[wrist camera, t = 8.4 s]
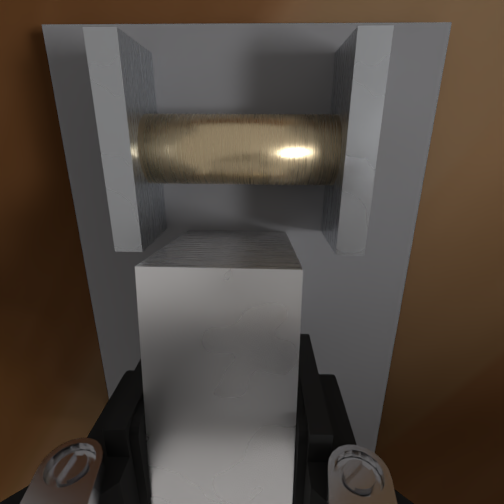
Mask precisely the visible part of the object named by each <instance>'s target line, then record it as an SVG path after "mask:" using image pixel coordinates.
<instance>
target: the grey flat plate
mask: <svg viewBox="0 0 504 504" xmlns="http://www.w3.org/2000/svg"><path fill="white" fill-rule="evenodd" d="M451 23H452V22H445V23H254V24H63V25H42V29H43V35H44V40H45V46H46V51H47V57H48V63H49V68H50V74H51V79H52V85H53V90H54V96H55V101H56V107H57V113H58V118H59V124H60V129H61V135H62V140H63V146H64V151H65V157H66V163H67V168H68V174H69V179H70V185H71V190H72V196H73V201H74V207H75V213H76V218H77V224H78V229H79V235H80V240H81V246H82V251H83V257H84V263H85V268H86V274H87V279H88V285H89V290H90V296H91V302H92V307H93V313H94V318H95V324H96V329H97V335H98V340H99V346H100V352H101V357H102V363H103V368H104V374H105V379H106V385H107V390H108V396H109V399H110V397H111V396H112V394H113V392H114V390H115V389H116V387H117V385H118V383H119V382H120V380H121V378H122V377H123V375H124V374H125V372H126V371H128V370H135V368H136V366H137V364H138V362H139V361H140V359H141V351H140V336H139V322H138V307H137V293H136V278H135V266H136V265H138V264H139V263H141V262H142V261H144V260H145V259H147V258H148V257H150V256H151V255H153V254H154V253H156V252H157V251H159V250H160V249H162V248H163V247H165V246H166V245H168V244H169V243H171V242H172V241H174V240H175V239H177V238H178V237H180V236H181V235H183V234H184V233H186V232H187V231H237V232H286V233H287V236H288V238H289V240H290V242H291V244H292V247H293V249H294V251H295V253H296V255H297V257H298V260H299V262H300V264H301V266H302V268H303V283H302V305H301V326H300V334H309V336H310V340H311V344H312V348H313V352H314V356H315V361H316V365H317V369H318V373H319V374H334V375H335V377H336V379H337V382H338V386H339V389H340V392H341V395H342V399H343V402H344V405H345V408H346V412H347V415H348V418H349V421H350V425H351V428H352V431H353V434H354V438H355V441H356V444H357V445H358V446H362V447H365V448H367V449H369V450H370V451H372V452H374V453H375V447H376V442H377V436H378V431H379V425H380V419H381V414H382V408H383V403H384V397H385V392H386V386H387V380H388V375H389V369H390V364H391V358H392V352H393V347H394V341H395V336H396V330H397V325H398V319H399V313H400V308H401V302H402V297H403V291H404V285H405V280H406V274H407V269H408V263H409V258H410V252H411V246H412V241H413V235H414V230H415V224H416V218H417V213H418V207H419V202H420V196H421V191H422V185H423V179H424V174H425V168H426V163H427V157H428V151H429V146H430V140H431V135H432V129H433V124H434V118H435V112H436V107H437V101H438V96H439V90H440V84H441V79H442V73H443V68H444V62H445V57H446V51H447V45H448V40H449V34H450V29H451ZM371 25H394V30H393V37H392V45H391V53H390V61H389V68H388V76H387V84H386V92H385V99H384V107H383V115H382V123H381V130H380V138H379V146H378V154H377V161H376V169H375V177H374V185H373V192H372V200H371V208H370V216H369V223H368V231H367V239H366V247H365V254H364V256H352V255H335V253H334V252H333V250H332V248H331V247H330V245H329V243H328V242H327V240H326V239H325V237H324V235H323V234H322V232H321V224H322V211H323V198H324V186H325V185H256V184H163V187H164V199H165V211H166V223H167V229H166V230H165V231H164V232H163V233H162V234H161V235H160V236H159V237H158V238H157V239H156V240H155V241H154V242H153V243H151V244H150V245H149V246H148V247H147V248H146V249H145V250H144V251H143V252H115V248H114V241H113V234H112V227H111V220H110V213H109V207H108V200H107V193H106V186H105V179H104V172H103V165H102V158H101V151H100V144H99V137H98V130H97V123H96V116H95V110H94V103H93V96H92V89H91V82H90V75H89V68H88V61H87V54H86V47H85V40H84V33H83V27H118V28H119V29H120V30H122V31H123V32H124V33H126V34H127V35H128V36H130V37H131V38H132V39H134V40H135V41H136V42H138V43H139V44H140V45H142V46H143V47H144V48H146V49H147V50H148V51H150V52H151V53H152V58H153V70H154V82H155V94H156V105H157V114H330V110H331V97H332V85H333V72H334V60H335V52H336V51H337V50H338V49H339V47H340V46H341V45H342V44H343V43H344V42H345V40H346V39H347V38H348V37H349V36H350V34H351V33H352V32H353V31H354V30H355V29H356V27H357V26H371Z"/></svg>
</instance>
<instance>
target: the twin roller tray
mask: <svg viewBox="0 0 504 504" xmlns="http://www.w3.org/2000/svg"><path fill="white" fill-rule="evenodd" d="M393 30H394V25H371V26H357V27H356V29H355V30H354V31H353V32H352V33H351V34H350V36H349V37H348V38H347V39H346V40H345V42H344V43H343V44H342V45H341V46H340V47H339V49H338V50H337V51H336V52H335V60H334V72H333V85H332V97H331V110H330V114H157V105H156V94H155V82H154V70H153V58H152V53H151V52H150V51H148V50H147V49H146V48H144V47H143V46H142V45H140V44H139V43H138V42H136V41H135V40H134V39H132V38H131V37H130V36H128V35H127V34H126V33H124V32H123V31H122V30H120V29H119V28H118V27H83V33H84V40H85V47H86V54H87V61H88V68H89V75H90V82H91V89H92V96H93V103H94V110H95V116H96V123H97V130H98V137H99V144H100V151H101V158H102V165H103V172H104V179H105V186H106V193H107V200H108V207H109V213H110V220H111V227H112V234H113V241H114V248H115V252H143V251H144V250H145V249H146V248H147V247H148V246H149V245H150V244H151V243H153V242H154V241H155V240H156V239H157V238H158V237H159V236H160V235H161V234H162V233H163V232H164V231H165V230H166V229H167V223H166V211H165V199H164V187H163V184H256V185H325V186H324V198H323V211H322V224H321V232H322V234H323V235H324V237H325V239H326V240H327V242H328V243H329V245H330V247H331V248H332V250H333V252H334V253H335V255H352V256H364V254H365V247H366V239H367V231H368V223H369V216H370V208H371V200H372V192H373V185H374V177H375V169H376V161H377V154H378V146H379V138H380V130H381V123H382V115H383V107H384V99H385V92H386V84H387V76H388V68H389V61H390V53H391V45H392V37H393Z"/></svg>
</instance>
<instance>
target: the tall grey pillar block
mask: <svg viewBox="0 0 504 504" xmlns="http://www.w3.org/2000/svg"><path fill="white" fill-rule="evenodd" d="M135 278H136V293H137V307H138V322H139V336H140V351H141V365H142V380H143V395H144V409H145V424H146V438H147V453H148V467H149V482H150V497H151V504H292V499H293V478H294V456H295V435H296V413H297V391H298V370H299V348H300V326H301V305H302V283H303V268H302V266H301V264H300V262H299V260H298V257H297V255H296V253H295V251H294V249H293V247H292V244H291V242H290V240H289V238H288V236H287V233H286V232H237V231H187V232H186V233H184V234H183V235H181V236H180V237H178V238H177V239H175V240H174V241H172V242H171V243H169V244H168V245H166V246H165V247H163V248H162V249H160V250H159V251H157V252H156V253H154V254H153V255H151V256H150V257H148V258H147V259H145V260H144V261H142V262H141V263H139V264H138V265H136V266H135Z"/></svg>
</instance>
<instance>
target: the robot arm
mask: <svg viewBox="0 0 504 504" xmlns="http://www.w3.org/2000/svg"><path fill="white" fill-rule="evenodd" d="M0 504H151V497H150V482H149V467H148V453H147V438H146V424H145V409H144V395H143V380H142V365H141V359H140V361H139V362H138V364H137V366H136V368H135V370H128V371H126V372H125V374H124V375H123V377H122V378H121V380H120V382H119V383H118V385H117V387H116V389H115V390H114V392H113V394H112V396H111V397H110V399H109V401H108V402H107V404H106V406H105V408H104V409H103V411H102V413H101V415H100V416H99V418H98V420H97V421H96V423H95V425H94V427H93V428H92V430H91V432H90V434H89V435H88V437H87V438H78V439H74V440H70V441H68V442H66V443H64V444H61V445H60V446H59V447H57V448H56V449H54V450H53V451H52V452H50V453H49V454H48V455H47V456H46V457H45V458H44V460H43V461H42V463H41V464H40V466H39V467H38V469H37V471H36V473H35V475H34V477H33V479H32V481H31V483H30V485H29V486H27V487H25V488H24V489H22V490H20V491H19V492H17V493H15V494H14V495H12V496H10V497H9V498H7V499H5V500H4V501H2V502H0ZM292 504H413V503H412V502H411V501H409V500H408V499H407V498H405V497H404V496H403V495H401V494H400V493H399V492H397V491H396V490H395V489H394V486H393V481H392V477H391V474H390V472H389V469H388V467H387V466H386V464H385V463H384V462H383V460H382V459H381V458H380V457H379V456H377V455H376V454H375V453H374V452H372V451H370V450H369V449H367V448H365V447H362V446H358V445H357V444H356V441H355V438H354V434H353V431H352V428H351V425H350V421H349V418H348V415H347V412H346V408H345V405H344V402H343V399H342V395H341V392H340V389H339V386H338V382H337V379H336V377H335V375H334V374H319V373H318V369H317V365H316V361H315V356H314V352H313V348H312V344H311V340H310V336H309V334H300V348H299V370H298V391H297V413H296V435H295V456H294V478H293V499H292Z"/></svg>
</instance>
